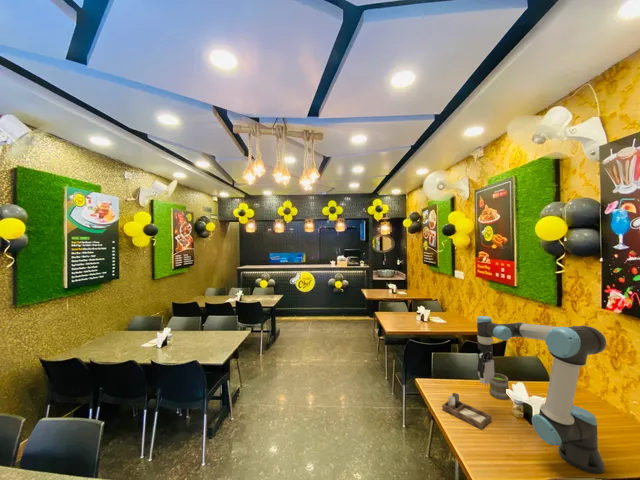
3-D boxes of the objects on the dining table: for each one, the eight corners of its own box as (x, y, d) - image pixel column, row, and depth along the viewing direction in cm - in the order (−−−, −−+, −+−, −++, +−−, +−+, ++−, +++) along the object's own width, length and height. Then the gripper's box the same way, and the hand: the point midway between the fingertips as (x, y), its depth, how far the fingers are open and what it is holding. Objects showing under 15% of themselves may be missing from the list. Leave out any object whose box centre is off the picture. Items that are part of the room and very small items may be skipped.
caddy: (491, 420, 152) (491, 406, 152) (481, 429, 145) (481, 414, 145) (452, 402, 170) (452, 389, 170) (442, 410, 163) (442, 396, 163)
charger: (495, 386, 162) (494, 360, 162) (484, 389, 158) (483, 363, 159) (488, 382, 166) (487, 357, 167) (477, 385, 163) (476, 360, 163)
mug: (513, 399, 172) (512, 380, 173) (496, 399, 173) (495, 380, 173) (497, 386, 188) (497, 369, 188) (481, 387, 188) (481, 369, 188)
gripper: (486, 337, 173) (487, 373, 172) (469, 345, 160) (471, 383, 159) (499, 340, 167) (501, 377, 166) (483, 348, 153) (485, 389, 153)
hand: (486, 380), depth 162 cm, fingers closed on charger, 10 cm apart
